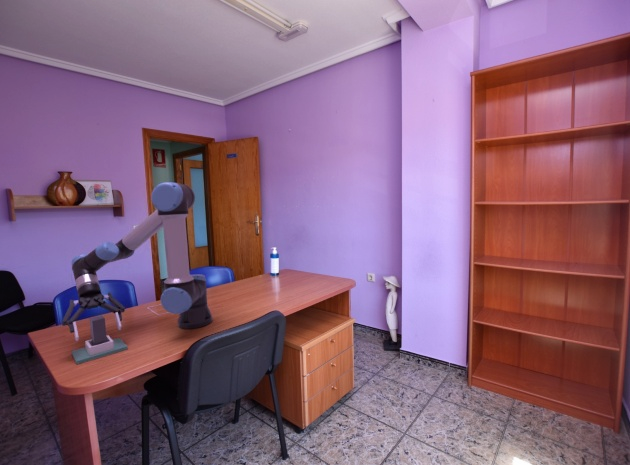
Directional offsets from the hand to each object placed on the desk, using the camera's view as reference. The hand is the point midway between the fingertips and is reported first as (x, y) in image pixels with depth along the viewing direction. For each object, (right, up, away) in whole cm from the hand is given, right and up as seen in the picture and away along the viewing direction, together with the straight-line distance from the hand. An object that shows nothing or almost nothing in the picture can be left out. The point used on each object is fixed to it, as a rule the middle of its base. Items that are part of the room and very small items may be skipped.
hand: (99, 333), depth 119 cm
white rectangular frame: (-2, -4, +53) cm, 53 cm away
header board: (-1, -8, +2) cm, 8 cm away
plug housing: (-1, -7, +2) cm, 7 cm away
